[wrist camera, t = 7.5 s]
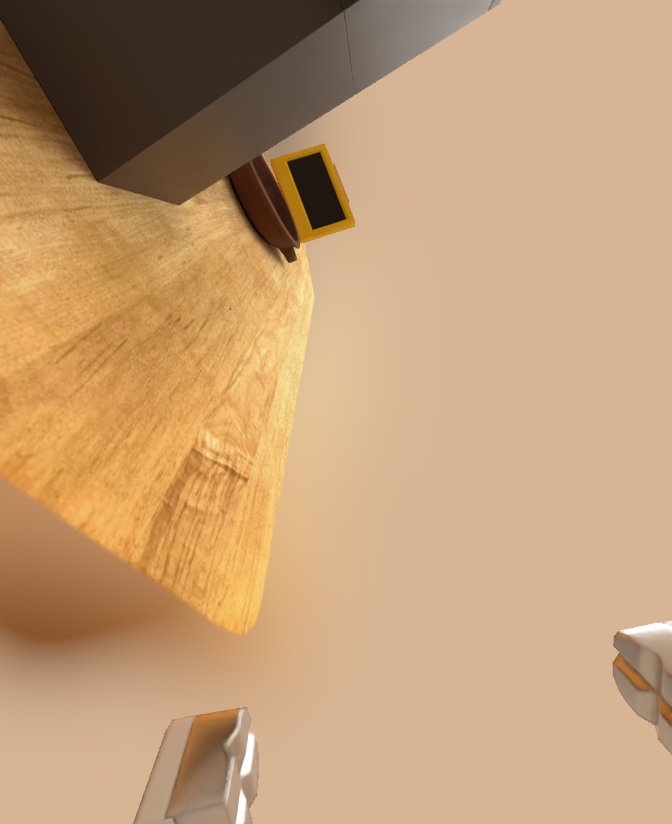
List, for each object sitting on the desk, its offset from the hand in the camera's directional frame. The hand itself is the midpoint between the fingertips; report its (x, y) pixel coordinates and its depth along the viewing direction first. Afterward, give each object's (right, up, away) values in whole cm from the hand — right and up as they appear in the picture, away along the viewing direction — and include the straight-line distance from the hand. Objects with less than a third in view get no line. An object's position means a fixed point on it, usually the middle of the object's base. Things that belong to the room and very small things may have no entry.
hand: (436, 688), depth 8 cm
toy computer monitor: (-16, +52, +76) cm, 93 cm away
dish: (-17, +42, +56) cm, 72 cm away
